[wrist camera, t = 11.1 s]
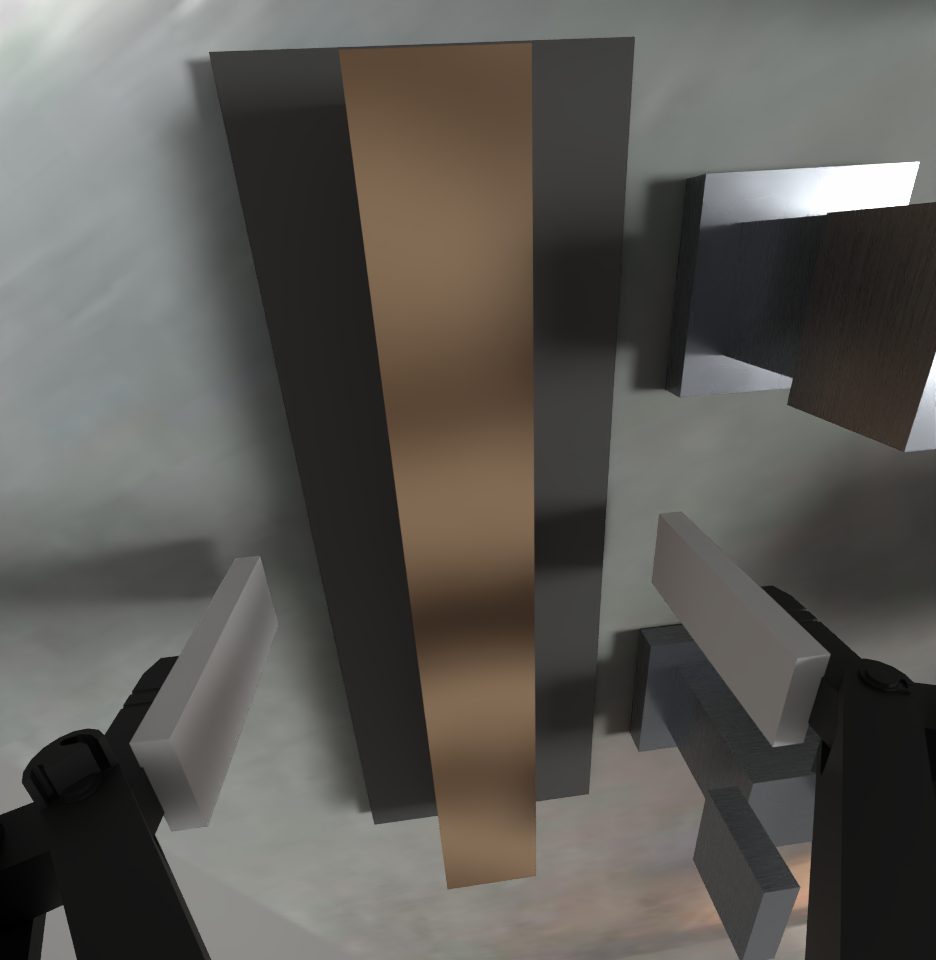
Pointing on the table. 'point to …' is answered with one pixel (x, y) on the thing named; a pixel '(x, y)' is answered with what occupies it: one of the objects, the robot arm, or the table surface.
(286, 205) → the mat
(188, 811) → the robot arm
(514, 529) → the rail
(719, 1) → the table surface
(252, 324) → the table surface
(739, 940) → the post
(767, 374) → the post
